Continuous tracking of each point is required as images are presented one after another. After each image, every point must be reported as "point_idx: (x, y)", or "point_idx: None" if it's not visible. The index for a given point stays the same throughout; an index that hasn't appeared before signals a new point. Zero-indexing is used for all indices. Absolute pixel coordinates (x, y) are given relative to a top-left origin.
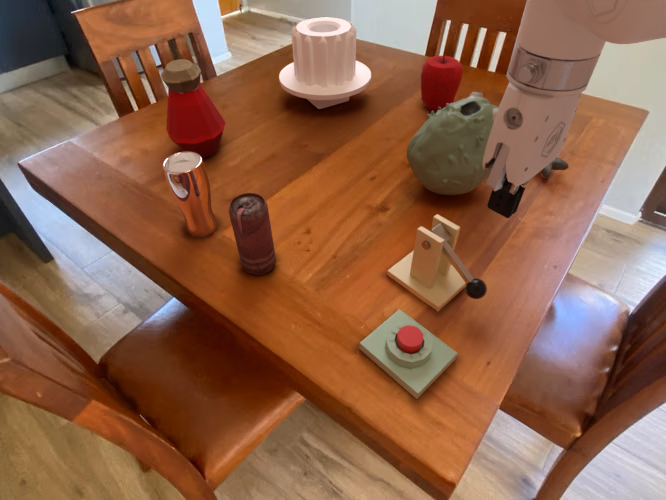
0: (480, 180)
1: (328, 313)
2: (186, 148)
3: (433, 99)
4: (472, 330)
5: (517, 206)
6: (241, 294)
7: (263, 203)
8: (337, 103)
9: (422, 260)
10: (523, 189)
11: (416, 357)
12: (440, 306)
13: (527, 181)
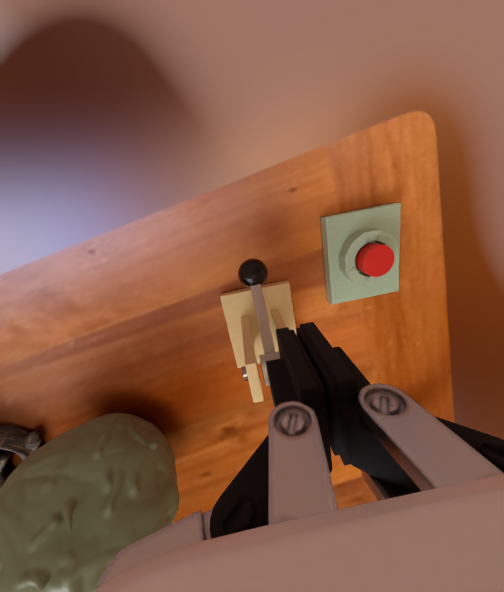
0: (93, 425)
1: (382, 339)
2: None
3: None
4: (273, 236)
5: (288, 340)
6: (428, 396)
7: None
8: None
9: None
10: (315, 388)
11: (384, 236)
12: (286, 282)
13: (274, 417)
